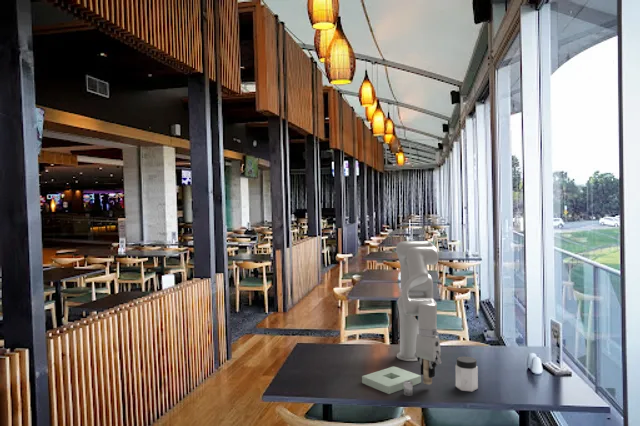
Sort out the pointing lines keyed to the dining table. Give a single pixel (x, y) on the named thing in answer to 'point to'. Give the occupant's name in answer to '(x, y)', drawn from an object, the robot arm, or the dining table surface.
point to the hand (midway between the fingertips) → (427, 375)
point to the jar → (466, 374)
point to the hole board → (390, 379)
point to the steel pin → (408, 388)
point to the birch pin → (426, 372)
